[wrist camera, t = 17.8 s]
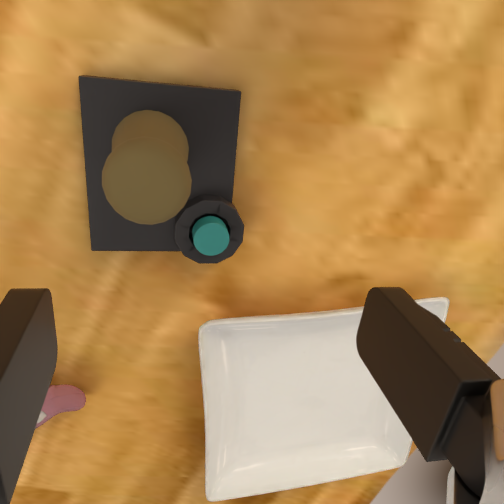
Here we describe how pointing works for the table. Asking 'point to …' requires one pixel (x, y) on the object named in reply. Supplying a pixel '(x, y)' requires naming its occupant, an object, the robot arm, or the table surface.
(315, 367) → the square plate
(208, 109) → the scale
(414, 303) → the robot arm
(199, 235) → the button
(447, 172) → the table surface
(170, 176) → the cork
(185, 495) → the table surface
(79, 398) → the pink tapered lump
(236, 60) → the table surface
